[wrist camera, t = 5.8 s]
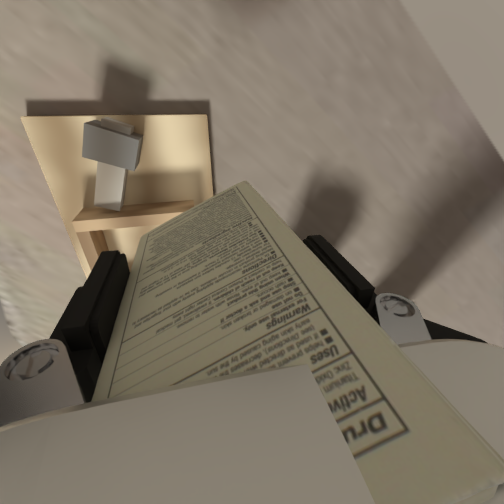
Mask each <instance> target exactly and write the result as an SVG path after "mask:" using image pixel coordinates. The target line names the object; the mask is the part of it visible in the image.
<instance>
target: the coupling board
mask: <svg viewBox="0 0 504 504" xmlns="http://www.w3.org/2000/svg"><path fill="white" fill-rule="evenodd" d="M20 118H21V120H22V123H23V125H24V128H25V130H26V132H27V135H28V137H29V140H30V142H31V145H32V147H33V149H34V152H35V154H36V157H37V159H38V162H39V164H40V166H41V169H42V171H43V174H44V176H45V179H46V181H47V183H48V186H49V188H50V191H51V193H52V196H53V198H54V200H55V203H56V205H57V208H58V210H59V213H60V215H61V217H62V220H63V222H64V225H65V227H66V230H67V232H68V234H69V237H70V239H71V242H72V244H73V247H74V249H75V251H76V254H77V256H78V259H79V261H80V263H81V266H82V268H83V271H84V273H85V276H86V278H88V276H89V274H90V273H91V271H92V269H93V267H94V265H95V263H96V261H97V259H98V257H99V256H100V254H101V252H102V251H114V250H119V252H120V254H122V253H124V254H125V255H126V258H127V262H128V266H129V270H130V271H131V268H132V265H133V261H134V258H135V254H136V251H137V248H138V244H139V241H140V238H141V237H142V236H143V235H144V234H146V233H148V232H150V231H151V230H153V229H155V228H156V227H158V226H160V225H162V224H163V223H165V222H167V221H169V220H170V219H172V218H174V217H176V216H178V215H180V214H181V213H183V212H185V211H187V210H189V209H191V208H192V207H194V206H196V205H198V204H200V203H202V202H204V201H205V200H207V199H209V198H211V197H213V186H212V173H211V160H210V147H209V134H208V121H207V114H170V115H71V116H22V117H20Z"/></svg>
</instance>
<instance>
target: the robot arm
mask: <svg viewBox="0 0 504 504" xmlns="http://www.w3.org/2000/svg"><path fill="white" fill-rule="evenodd" d="M303 243H304V244H305V245H306V246H307V247H308V248H309V249H310V250H311V251H312V252H313V253H314V254H315V256H316V257H317V258H318V259H319V260H320V261H321V262H322V263H323V264H324V265H325V266H326V268H327V269H328V270H329V271H330V272H331V273H332V274H333V275H334V276H335V278H336V279H337V280H338V281H339V282H340V283H341V284H342V285H343V286H344V288H345V289H346V290H347V291H348V292H349V293H350V294H351V295H352V296H353V297H354V298H355V300H356V301H357V302H358V303H359V304H360V305H361V306H362V307H363V308H364V309H365V310H366V312H367V313H368V314H369V315H370V316H371V317H372V318H373V319H374V320H375V321H376V322H377V323H378V325H379V326H380V327H381V328H382V329H383V330H384V331H385V332H386V333H387V334H388V335H389V336H390V338H391V339H392V340H393V341H394V342H395V343H396V344H397V345H398V346H399V347H400V349H401V350H402V351H403V352H404V353H405V354H406V355H407V356H408V357H409V358H410V360H411V361H412V362H413V363H414V364H415V365H416V366H417V367H418V368H419V369H420V370H421V371H422V372H423V373H424V374H425V375H426V376H427V378H428V379H429V380H430V381H431V382H432V383H433V384H434V385H435V386H436V387H437V389H438V390H439V391H440V392H441V393H442V394H443V395H444V396H445V397H446V399H447V400H448V401H449V402H450V403H451V404H452V405H453V406H454V407H455V408H456V409H457V410H458V411H459V412H460V414H461V415H462V416H463V417H464V418H465V419H466V420H467V421H468V422H469V423H470V424H471V425H472V426H473V427H474V428H475V429H476V430H477V431H478V433H479V434H480V435H481V436H482V437H483V438H484V439H485V440H486V441H487V442H488V443H489V444H490V445H491V446H492V447H493V448H494V449H495V450H496V452H497V453H498V454H499V455H500V456H501V457H502V458H503V459H504V348H502V347H499V346H496V345H491V344H488V343H487V342H485V341H483V340H481V339H478V338H476V337H473V336H470V335H467V334H465V333H462V332H459V331H456V330H453V329H451V328H448V327H445V326H442V325H439V324H437V323H434V322H431V321H428V320H425V319H423V317H422V315H421V313H420V310H419V309H418V307H417V306H416V305H415V304H414V303H413V302H412V301H410V300H409V299H407V298H405V297H403V296H401V295H397V294H394V293H382V294H379V295H378V296H377V295H376V294H375V293H374V290H375V288H374V287H373V286H372V285H371V284H370V283H369V282H368V281H367V280H366V279H365V278H364V277H363V276H362V275H361V274H360V273H359V272H358V271H357V270H356V269H355V268H354V267H353V266H352V265H351V264H350V263H349V262H348V261H347V260H346V259H345V258H344V257H343V256H342V255H341V254H340V253H339V252H338V251H337V250H336V249H335V248H334V247H333V246H332V245H331V244H330V243H329V242H327V241H326V240H325V239H324V238H323V237H322V236H321V235H314V236H308V237H307V238H306V239H304V240H303ZM129 275H130V270H129V266H128V262H127V258H126V255H125V254H124V253H122V254H120V252H119V250H114V251H102V252H101V254H100V256H99V257H98V259H97V261H96V263H95V265H94V267H93V269H92V271H91V273H90V274H89V276H88V278H87V280H86V282H85V284H84V286H83V287H79V288H78V289H77V290H76V291H75V293H74V295H73V297H72V299H71V300H70V302H69V304H68V306H67V308H66V309H65V311H64V313H63V315H62V317H61V318H60V320H59V322H58V324H57V326H56V327H55V329H54V331H53V333H52V335H51V336H50V338H49V339H44V340H39V341H36V342H33V343H30V344H27V345H25V346H24V347H22V348H20V349H18V350H17V351H15V352H14V353H12V354H11V355H10V356H9V357H8V358H7V359H6V360H5V361H3V363H2V364H1V366H0V504H375V502H374V500H373V498H372V496H371V493H370V491H369V489H368V487H367V485H366V483H365V480H364V478H363V476H362V474H361V472H360V470H359V467H358V465H357V463H356V461H355V459H354V457H353V455H352V453H351V451H350V449H349V446H348V444H347V442H346V440H345V438H344V436H343V434H342V432H341V430H340V428H339V426H338V424H337V422H336V420H335V418H334V416H333V414H332V412H331V410H330V408H329V406H328V404H327V402H326V400H325V398H324V396H323V394H322V392H321V390H320V388H319V386H318V384H317V382H316V380H315V378H314V376H313V374H312V372H311V370H310V368H309V366H308V364H304V365H294V366H284V367H275V368H266V369H257V370H251V371H246V372H240V373H235V374H230V375H224V376H219V377H214V378H209V379H204V380H198V381H193V382H188V383H183V384H178V385H173V386H167V387H162V388H157V389H152V390H147V391H141V392H136V393H131V394H127V395H122V396H117V397H112V398H107V399H103V400H98V401H93V402H91V401H92V398H93V395H94V392H95V388H96V384H97V381H98V377H99V374H100V371H101V368H102V365H103V361H104V358H105V354H106V351H107V348H108V345H109V341H110V338H111V335H112V332H113V328H114V324H115V321H116V318H117V315H118V311H119V307H120V304H121V301H122V298H123V295H124V291H125V287H126V285H127V281H128V278H129ZM480 504H504V485H501V484H500V485H498V487H497V490H496V492H495V495H494V497H492V498H491V499H490V500H488V501H485V502H482V503H480Z"/></svg>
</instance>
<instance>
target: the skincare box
mask: <svg viewBox="0 0 504 504" xmlns="http://www.w3.org/2000/svg"><path fill="white" fill-rule="evenodd" d="M304 364H308V366H309V368H310V370H311V372H312V374H313V376H314V378H315V380H316V382H317V384H318V386H319V388H320V390H321V392H322V394H323V396H324V398H325V400H326V402H327V404H328V406H329V408H330V410H331V412H332V414H333V416H334V418H335V420H336V422H337V424H338V426H339V428H340V430H341V432H342V434H343V436H344V438H345V440H346V442H347V444H348V446H349V449H350V451H351V453H352V455H353V457H354V459H355V461H356V463H357V465H358V467H359V470H360V472H361V474H362V476H363V478H364V480H365V483H366V485H367V487H368V489H369V491H370V493H371V496H372V498H373V500H374V502H375V504H480V503H482V502H485V501H488V500H490V499H491V498H492V497H494V495H495V492H496V490H497V487H498V485H500V484H501V485H504V459H503V458H502V457H501V456H500V455H499V454H498V453H497V452H496V450H495V449H494V448H493V447H492V446H491V445H490V444H489V443H488V442H487V441H486V440H485V439H484V438H483V437H482V436H481V435H480V434H479V433H478V431H477V430H476V429H475V428H474V427H473V426H472V425H471V424H470V423H469V422H468V421H467V420H466V419H465V418H464V417H463V416H462V415H461V414H460V412H459V411H458V410H457V409H456V408H455V407H454V406H453V405H452V404H451V403H450V402H449V401H448V400H447V399H446V397H445V396H444V395H443V394H442V393H441V392H440V391H439V390H438V389H437V387H436V386H435V385H434V384H433V383H432V382H431V381H430V380H429V379H428V378H427V376H426V375H425V374H424V373H423V372H422V371H421V370H420V369H419V368H418V367H417V366H416V365H415V364H414V363H413V362H412V361H411V360H410V358H409V357H408V356H407V355H406V354H405V353H404V352H403V351H402V350H401V349H400V347H399V346H398V345H397V344H396V343H395V342H394V341H393V340H392V339H391V338H390V336H389V335H388V334H387V333H386V332H385V331H384V330H383V329H382V328H381V327H380V326H379V325H378V323H377V322H376V321H375V320H374V319H373V318H372V317H371V316H370V315H369V314H368V313H367V312H366V310H365V309H364V308H363V307H362V306H361V305H360V304H359V303H358V302H357V301H356V300H355V298H354V297H353V296H352V295H351V294H350V293H349V292H348V291H347V290H346V289H345V288H344V286H343V285H342V284H341V283H340V282H339V281H338V280H337V279H336V278H335V276H334V275H333V274H332V273H331V272H330V271H329V270H328V269H327V268H326V266H325V265H324V264H323V263H322V262H321V261H320V260H319V259H318V258H317V257H316V256H315V254H314V253H313V252H312V251H311V250H310V249H309V248H308V247H307V246H306V245H305V244H304V243H303V242H302V241H301V240H300V238H299V237H298V236H297V235H296V234H295V233H294V232H293V231H292V230H291V228H290V227H289V226H288V225H287V224H286V223H285V222H284V221H283V220H282V219H281V218H280V217H279V215H278V214H277V213H276V212H275V211H274V210H273V209H272V208H271V207H270V205H269V204H268V203H267V202H266V201H265V200H264V199H263V198H262V197H261V196H260V194H259V193H258V192H257V191H256V190H255V189H254V188H253V187H252V186H251V185H250V184H249V183H248V182H247V181H242V182H240V183H238V184H236V185H234V186H232V187H230V188H229V189H227V190H225V191H223V192H221V193H219V194H217V195H215V196H213V197H211V198H209V199H207V200H205V201H204V202H202V203H200V204H198V205H196V206H194V207H192V208H191V209H189V210H187V211H185V212H183V213H181V214H180V215H178V216H176V217H174V218H172V219H170V220H169V221H167V222H165V223H163V224H162V225H160V226H158V227H156V228H155V229H153V230H151V231H150V232H148V233H146V234H144V235H143V236H142V237H141V238H140V241H139V244H138V248H137V251H136V254H135V258H134V261H133V265H132V268H131V271H130V275H129V278H128V281H127V285H126V287H125V291H124V295H123V298H122V301H121V304H120V307H119V311H118V315H117V318H116V321H115V324H114V328H113V332H112V335H111V338H110V341H109V345H108V348H107V351H106V354H105V358H104V361H103V365H102V368H101V371H100V374H99V377H98V381H97V384H96V388H95V392H94V395H93V398H92V401H91V402H93V401H98V400H103V399H107V398H112V397H117V396H122V395H127V394H131V393H136V392H141V391H147V390H152V389H157V388H162V387H167V386H173V385H178V384H183V383H188V382H193V381H198V380H204V379H209V378H214V377H219V376H224V375H230V374H235V373H240V372H246V371H251V370H257V369H266V368H275V367H284V366H294V365H304Z"/></svg>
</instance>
